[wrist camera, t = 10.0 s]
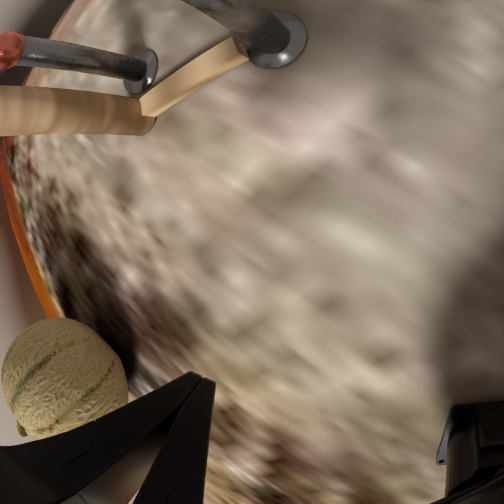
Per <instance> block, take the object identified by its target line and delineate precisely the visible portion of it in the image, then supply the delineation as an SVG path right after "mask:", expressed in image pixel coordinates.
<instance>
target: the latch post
mask: <svg viewBox="0 0 504 504" xmlns="http://www.w3.org/2000/svg"><path fill="white" fill-rule="evenodd" d="M14 65H20V66H32V67H43V68H53V69H61V70H69V71H76V72H83V73H90V74H96V75H102V76H107V77H113V78H118V79H123V80H124V86H125V88H126V89H127V91H129V92H130V93H135V94H137V93H141V92H143V91H145V90H146V89H147V88H148V87H149V86H150V85H151V83H152V82H153V80H154V78H155V76H156V73H157V69H158V59H157V57H156V55H155V53H154V52H152V51H150V50H141V51H139V52H137V53H136V54H135V55H134V56H133V57H129V56H125V55H121V54H118V53H114V52H109V51H105V50H101V49H97V48H92V47H87V46H83V45H78V44H73V43H67V42H62V41H56V40H49V39H43V38H36V37H28V36H23V34H22V33H20V32H18V31H14V30H11V31H7V32H4V33H2V34H1V35H0V69H8V68H10V67H12V66H14Z"/></svg>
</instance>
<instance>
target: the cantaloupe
mask: <svg viewBox="0 0 504 504" xmlns="http://www.w3.org/2000/svg"><path fill="white" fill-rule="evenodd" d="M1 375H2V376H1V379H2V387H3V391H4V395H5V398H6V401H7V404H8V406H9V408H10V409H11V411H12V413H13V414H14V416H15V417H16V418H17V428H18V431H19V433H20V435H21V436H22V437H25V436H27V434H26V432H25V429H26V430H27V432H28V433H30V434H31V435H32V436H33V437H35V438H36V439H37V440H39V439H43V438H47V437H50V436H54V435H57V434H60V433H63V432H66V431H69V430H72V429H74V428H77V427H79V426H81V425H84V424H86V423H88V422H90V421H92V420H96V419H97V418H99V417H101V416H103V415H105V414H107V413H110V412H112V411H114V410H116V409H118V408H120V407H122V406H124V405H126V404H128V383H127V379H126V375H125V371H124V368H123V365H122V362H121V360H120V358H119V356H118V355H117V354H116V353H115V352H114V350H113V349H112V348H111V347H110V346H109V345H108V344H107V343H106V342H105V341H104V340H103V339H102V338H101V337H100V336H99V335H98V334H97V333H96V332H95V331H94V330H93V329H92V328H90V327H88V326H86V325H85V324H82V323H80V322H78V321H76V320H73V319H68V318H59V317H58V318H51V319H45V320H42V321H39V322H37V323H35V324H33V325H31V326H30V327H29V328H27V329H25V330H24V331H23V332H22V333H20V334H19V335H18V336H17V337H16V339H15V340H14V341H13V343H12V344H11V346H10V347H9V349H8V351H7V353H6V356H5V359H4V361H3V366H2V374H1Z"/></svg>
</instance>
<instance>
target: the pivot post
mask: <svg viewBox="0 0 504 504" xmlns="http://www.w3.org/2000/svg"><path fill="white" fill-rule="evenodd" d="M183 1H184V2H186V3H188V4H190V5H191V6H193V7H195V8H197V9H198V10H200V11H202V12H203V13H205V14H207V15H208V16H210V17H211V18H213V19H215V20H216V21H218V22H219V23H221V24H222V25H224V26H225V27H227V28H229V29H230V30H232V31H233V32H234V33H236V34H237V35H239V36H240V37H242V38H243V45H244V47H245V49H246V52H247V54H248V56H249V61H251V62H252V63H253V64H255V65H256V66H259V67H261V68H265V69H277V68H281V67H284V66H287V65H289V64H290V63H292V62H293V61H295V60H296V59H297V58H298V57H299V56H300V55H301V54H302V52H303V50H304V48H305V46H306V43H307V31H306V28H305V26H304V24H303V23H302V22H301V21H300V19H298V18H297V17H296V16H294V15H293V14H290V13H287V12H281V11H276V12H271V11H270V10H269V9H268V8H267V7H266V6H265V5H264V4H263V3H262V2H261V1H260V0H183Z"/></svg>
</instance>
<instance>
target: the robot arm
mask: <svg viewBox="0 0 504 504" xmlns="http://www.w3.org/2000/svg"><path fill="white" fill-rule="evenodd" d="M215 390H216V382H215V381H213V380H211V379H208V378H206V377H204V378H203V377H202V376H201V375H199V374H197V373H195V372H192V371H190V372H187V373H185V374H184V375H182V376H180V377H178V378H176V379H174V380H172V381H171V382H169V383H167V384H165V385H163V386H161V387H159V388H157V389H155V390H154V391H152V392H150V393H148V394H146V395H144V396H142V397H140V398H138V399H136V400H134V401H132V402H130V403H128V404H126V405H124V406H122V407H120V408H118V409H116V410H114V411H112V412H110V413H107V414H105V415H103V416H101V417H99V418H97V419H96V420H92V421H90V422H88V423H86V424H84V425H81V426H79V427H77V428H74V429H72V430H69V431H66V432H63V433H60V434H57V435H54V436H50V437H47V438H43V439H39V440H35V441H32V442H28V443H24V444H20V445H14V446H0V504H128V503H129V501H130V500H131V499H132V497H133V496H134V495H135V494H136V492H137V491H138V490H139V489H140V490H139V492H138V494H137V496H136V498H135V500H134V502H133V504H203V498H204V486H205V475H206V466H207V457H208V449H209V440H210V431H211V423H212V414H213V406H214V398H215ZM456 411H459V412H457V413H454V412H456ZM436 464H437V465H447V467H446V486H445V497H444V498H442V499H440V500H437V501H435V502H433V503H430V504H504V401H499V402H490V403H480V404H468V405H456V406H454V407H452V408H451V410H450V413H449V417H448V421H447V424H446V428H445V431H444V435H443V438H442V441H441V444H440V448H439V451H438V454H437V457H436ZM140 487H141V488H140Z"/></svg>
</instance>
